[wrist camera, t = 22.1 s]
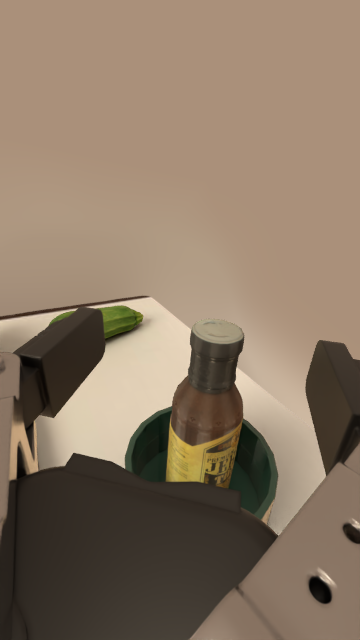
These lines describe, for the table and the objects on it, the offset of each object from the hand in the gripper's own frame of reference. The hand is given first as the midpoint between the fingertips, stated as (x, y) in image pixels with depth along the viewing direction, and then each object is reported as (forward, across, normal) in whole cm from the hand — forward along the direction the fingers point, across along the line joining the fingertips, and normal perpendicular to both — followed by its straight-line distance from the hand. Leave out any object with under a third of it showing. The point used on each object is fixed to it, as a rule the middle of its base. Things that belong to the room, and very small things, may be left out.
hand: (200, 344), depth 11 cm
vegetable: (+38, +24, +26) cm, 52 cm away
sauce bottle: (+10, 0, +25) cm, 27 cm away
